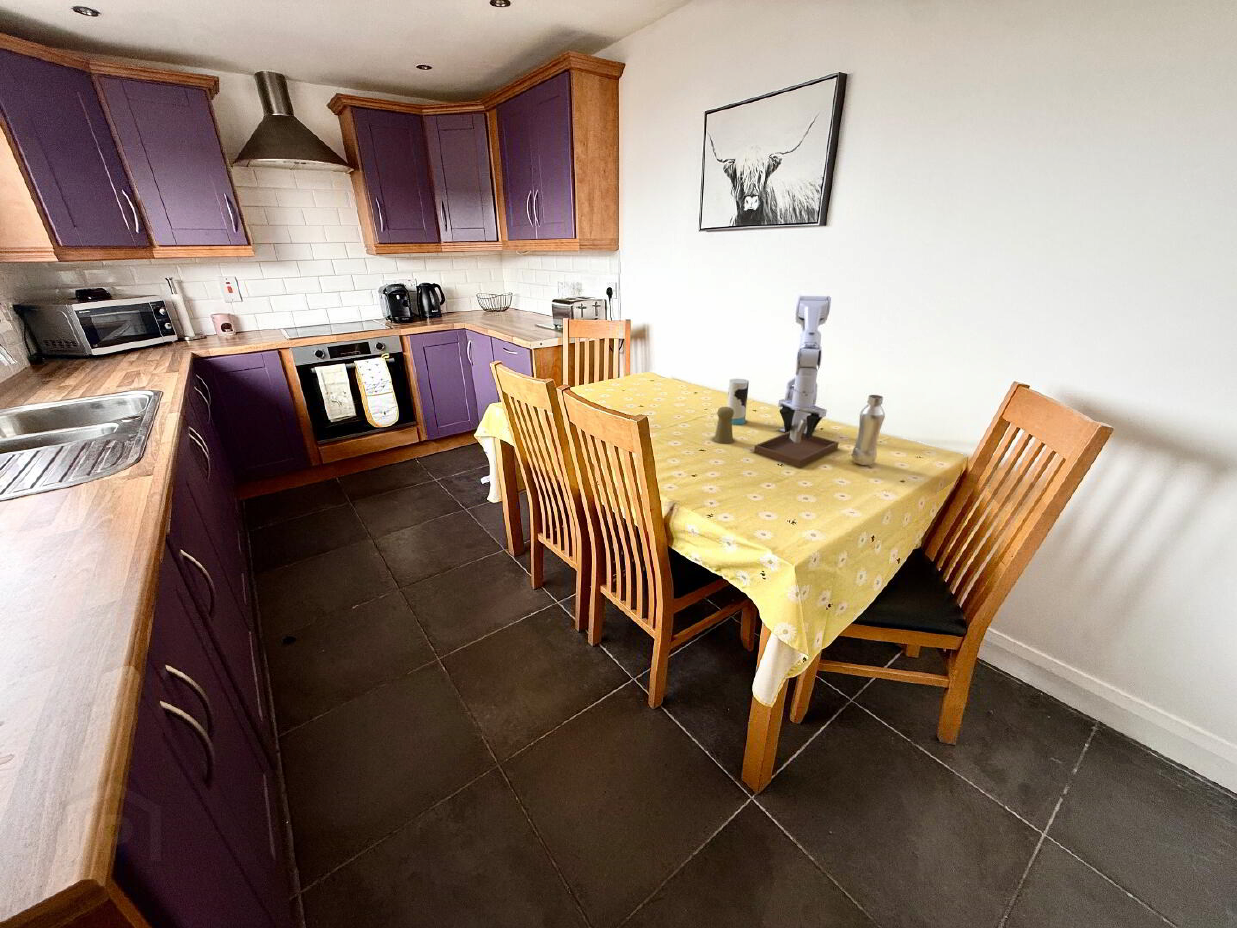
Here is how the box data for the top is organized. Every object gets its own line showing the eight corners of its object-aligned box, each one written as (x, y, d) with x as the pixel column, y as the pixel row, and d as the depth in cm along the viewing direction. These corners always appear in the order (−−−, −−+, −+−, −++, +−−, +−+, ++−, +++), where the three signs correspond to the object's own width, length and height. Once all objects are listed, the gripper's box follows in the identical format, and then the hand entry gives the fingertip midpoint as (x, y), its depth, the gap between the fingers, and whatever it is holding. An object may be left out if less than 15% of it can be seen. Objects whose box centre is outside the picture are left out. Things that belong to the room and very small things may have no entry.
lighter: (789, 437, 154) (792, 413, 151) (794, 437, 154) (798, 412, 151) (799, 446, 148) (803, 420, 144) (804, 446, 148) (808, 420, 145)
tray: (792, 436, 166) (793, 429, 165) (837, 449, 155) (838, 442, 154) (753, 452, 154) (754, 445, 153) (799, 468, 143) (800, 460, 142)
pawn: (731, 437, 166) (734, 405, 162) (733, 443, 161) (736, 410, 156) (713, 436, 167) (715, 404, 163) (714, 443, 161) (717, 410, 157)
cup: (748, 423, 178) (752, 382, 172) (730, 425, 177) (734, 384, 171) (740, 418, 184) (743, 378, 178) (723, 419, 183) (726, 379, 177)
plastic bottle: (873, 460, 147) (887, 394, 139) (876, 469, 141) (890, 400, 133) (849, 457, 149) (861, 392, 141) (851, 466, 143) (864, 398, 135)
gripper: (774, 387, 147) (769, 431, 153) (820, 398, 137) (812, 444, 143) (787, 383, 151) (782, 426, 157) (833, 393, 141) (825, 438, 147)
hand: (797, 434), depth 150 cm, fingers closed on lighter, 6 cm apart
